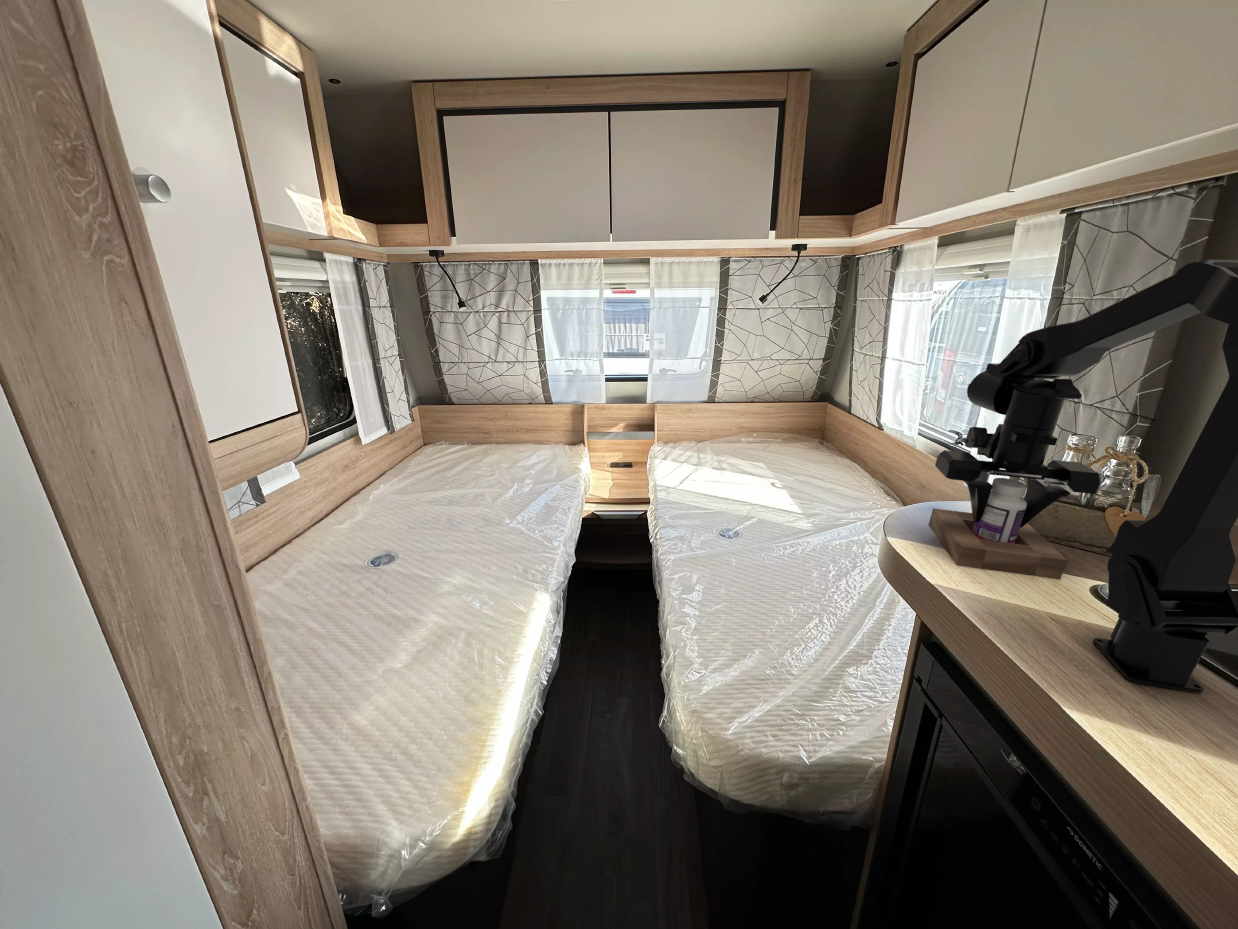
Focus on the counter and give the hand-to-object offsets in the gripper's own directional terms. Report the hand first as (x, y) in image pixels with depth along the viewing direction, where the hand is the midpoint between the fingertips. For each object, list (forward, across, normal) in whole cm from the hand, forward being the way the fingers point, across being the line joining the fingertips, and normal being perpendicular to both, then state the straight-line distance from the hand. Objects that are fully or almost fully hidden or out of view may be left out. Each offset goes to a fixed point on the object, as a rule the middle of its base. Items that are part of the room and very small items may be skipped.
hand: (997, 523), depth 76 cm
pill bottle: (+3, 0, 0) cm, 3 cm away
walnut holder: (+4, 0, 0) cm, 4 cm away
